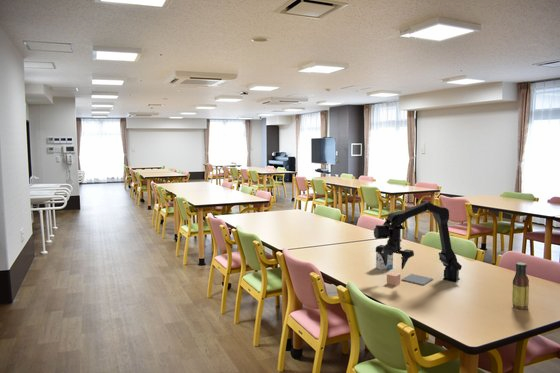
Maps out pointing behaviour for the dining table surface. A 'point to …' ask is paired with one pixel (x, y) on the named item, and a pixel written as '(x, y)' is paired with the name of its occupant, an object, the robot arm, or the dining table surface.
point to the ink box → (380, 262)
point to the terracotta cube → (393, 278)
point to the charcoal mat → (417, 279)
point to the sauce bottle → (520, 287)
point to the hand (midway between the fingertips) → (394, 267)
